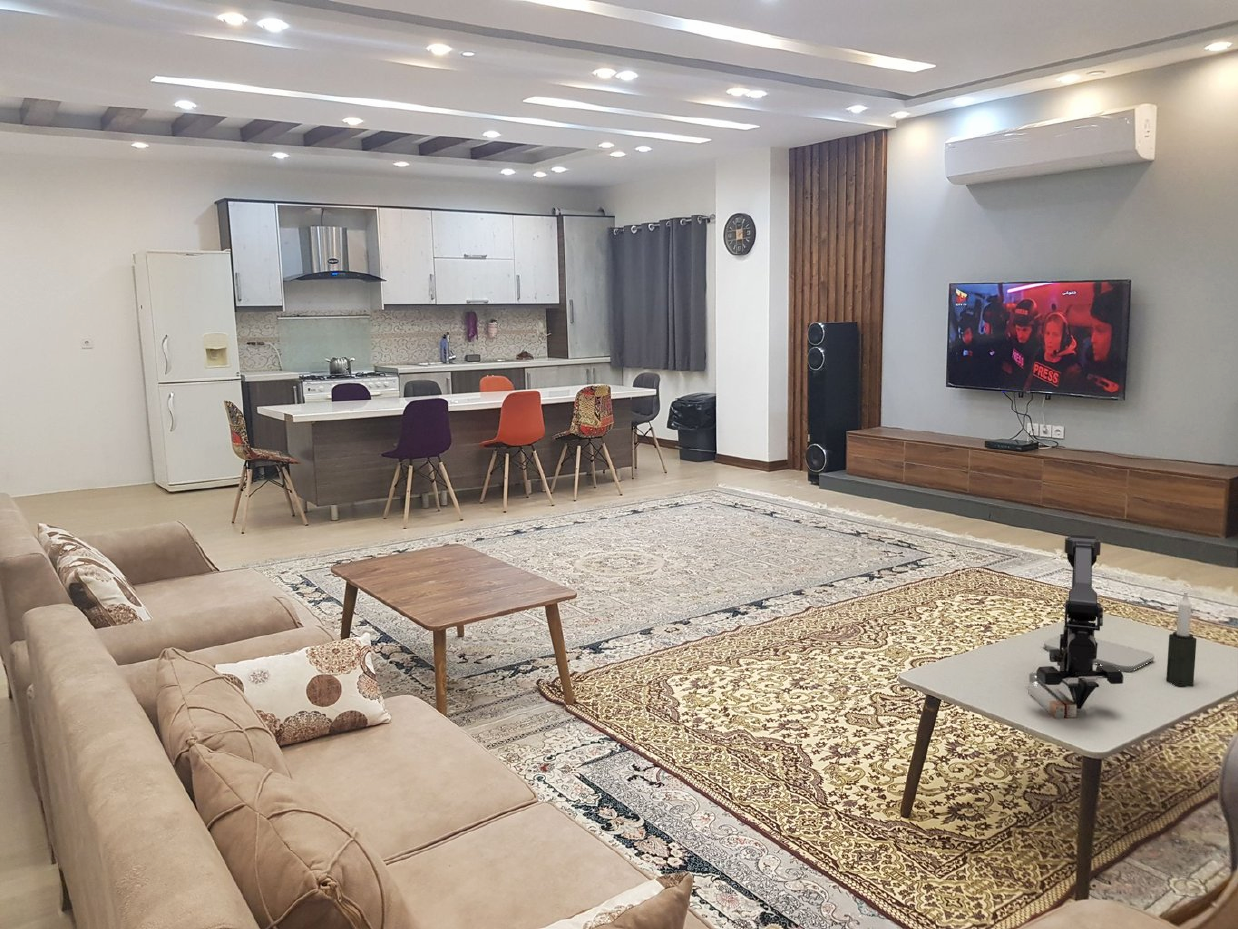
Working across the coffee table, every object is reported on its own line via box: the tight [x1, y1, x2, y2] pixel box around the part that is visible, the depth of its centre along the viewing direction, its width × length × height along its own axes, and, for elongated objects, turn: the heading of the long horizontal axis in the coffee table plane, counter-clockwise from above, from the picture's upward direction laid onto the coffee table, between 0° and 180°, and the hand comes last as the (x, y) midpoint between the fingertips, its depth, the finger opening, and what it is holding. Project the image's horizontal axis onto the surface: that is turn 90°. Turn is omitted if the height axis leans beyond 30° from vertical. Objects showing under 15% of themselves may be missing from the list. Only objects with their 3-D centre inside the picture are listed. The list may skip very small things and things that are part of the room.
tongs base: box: [1028, 672, 1065, 719], centre depth 239 cm, size 20×4×4 cm, turn 179°
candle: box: [1166, 591, 1198, 688], centre depth 248 cm, size 5×5×25 cm
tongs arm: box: [1041, 681, 1078, 718], centre depth 238 cm, size 16×2×3 cm, turn 178°
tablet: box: [1043, 635, 1155, 672], centre depth 272 cm, size 16×26×2 cm, turn 35°
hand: (1078, 708), depth 232 cm, fingers closed
